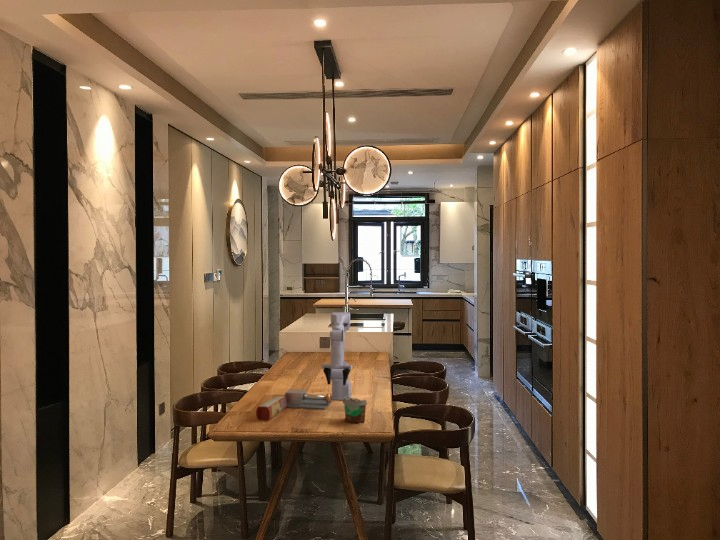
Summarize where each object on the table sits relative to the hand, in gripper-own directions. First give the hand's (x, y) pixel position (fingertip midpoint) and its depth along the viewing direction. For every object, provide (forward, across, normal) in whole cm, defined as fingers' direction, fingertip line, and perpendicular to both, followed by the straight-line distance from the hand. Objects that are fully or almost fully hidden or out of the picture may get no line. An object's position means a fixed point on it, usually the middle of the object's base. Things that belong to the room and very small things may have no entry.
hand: (336, 384), depth 262 cm
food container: (+13, +13, -20) cm, 27 cm away
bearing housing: (+10, -21, 0) cm, 23 cm away
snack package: (+12, -24, -19) cm, 33 cm away
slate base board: (+10, -16, 0) cm, 19 cm away
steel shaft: (+9, -12, +1) cm, 15 cm away
